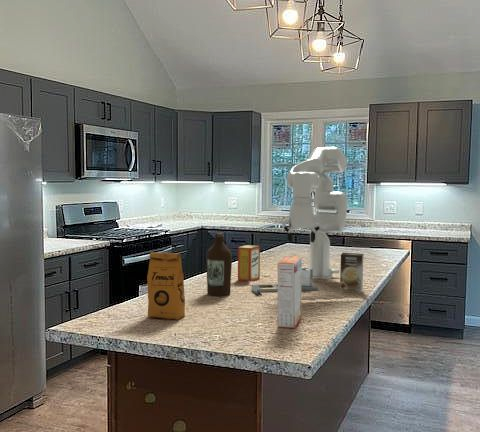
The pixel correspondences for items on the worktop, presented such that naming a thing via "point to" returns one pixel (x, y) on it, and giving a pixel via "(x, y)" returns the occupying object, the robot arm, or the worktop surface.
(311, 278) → the block with ball knob
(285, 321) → the cracker box
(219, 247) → the olive oil
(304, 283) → the grey block with knob
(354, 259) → the coffee box
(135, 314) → the worktop surface
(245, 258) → the baking soda box
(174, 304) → the coffee package
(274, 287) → the tray with square compartments
